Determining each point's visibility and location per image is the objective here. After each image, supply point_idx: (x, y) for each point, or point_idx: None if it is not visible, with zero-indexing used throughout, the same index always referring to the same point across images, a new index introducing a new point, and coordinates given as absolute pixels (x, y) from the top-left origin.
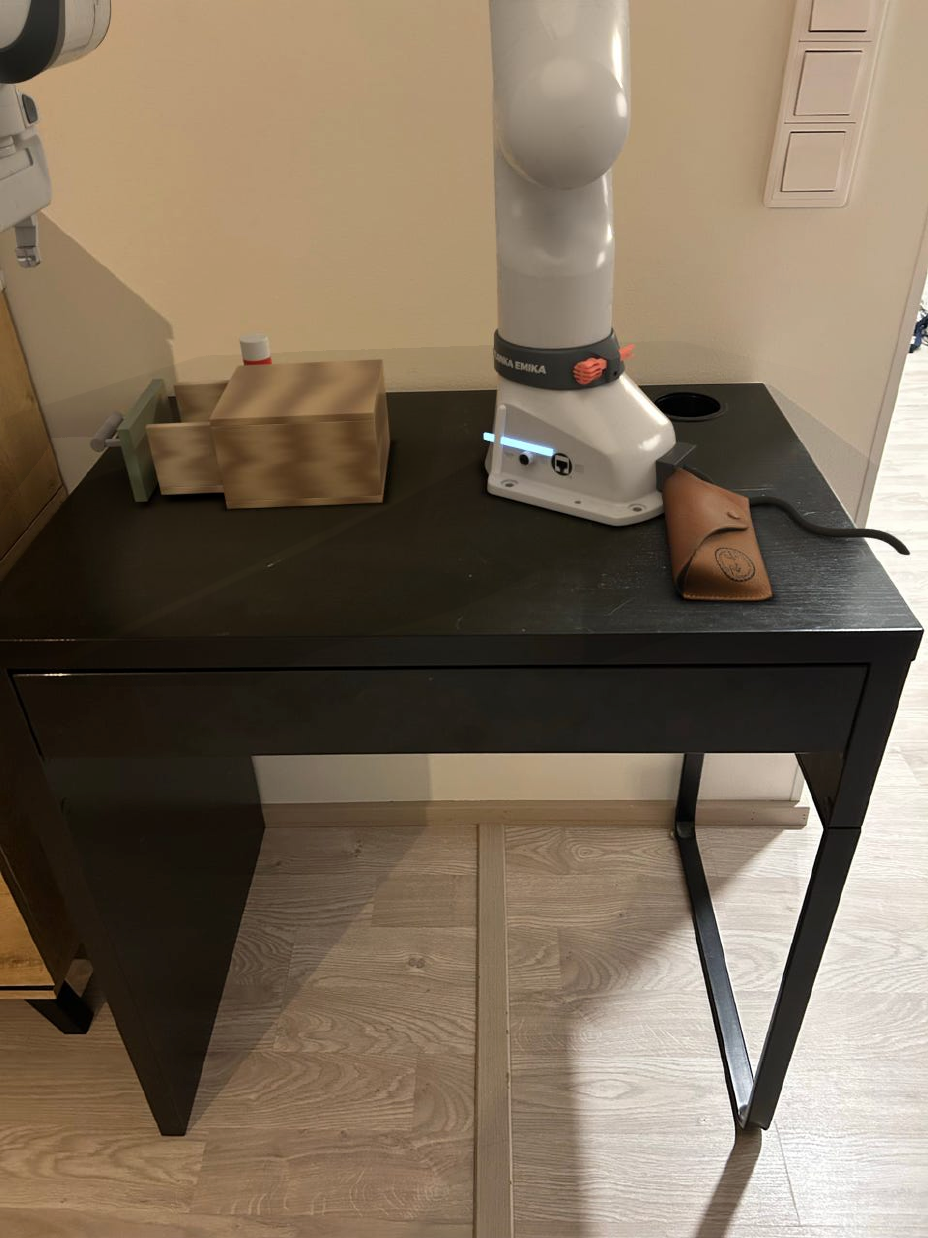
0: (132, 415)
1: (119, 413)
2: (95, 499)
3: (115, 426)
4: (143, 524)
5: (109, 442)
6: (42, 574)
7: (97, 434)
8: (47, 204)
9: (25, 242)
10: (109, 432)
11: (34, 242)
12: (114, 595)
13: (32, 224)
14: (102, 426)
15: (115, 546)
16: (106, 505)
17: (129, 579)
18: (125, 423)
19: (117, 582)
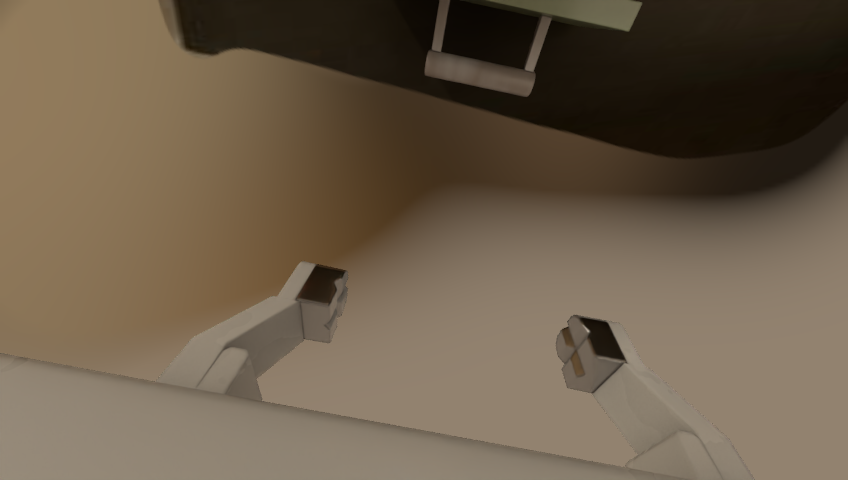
0: (572, 2)
1: (431, 56)
2: None
3: (472, 60)
4: None
5: (535, 63)
6: (680, 132)
7: (516, 85)
8: (25, 363)
9: (293, 331)
10: (501, 67)
11: (291, 310)
12: (809, 34)
13: (247, 358)
14: (484, 80)
15: (669, 49)
16: (540, 76)
17: (782, 16)
18: (608, 14)
19: (776, 34)
